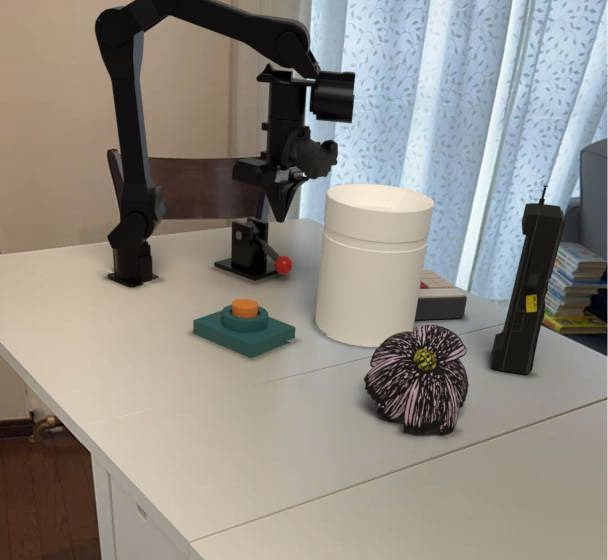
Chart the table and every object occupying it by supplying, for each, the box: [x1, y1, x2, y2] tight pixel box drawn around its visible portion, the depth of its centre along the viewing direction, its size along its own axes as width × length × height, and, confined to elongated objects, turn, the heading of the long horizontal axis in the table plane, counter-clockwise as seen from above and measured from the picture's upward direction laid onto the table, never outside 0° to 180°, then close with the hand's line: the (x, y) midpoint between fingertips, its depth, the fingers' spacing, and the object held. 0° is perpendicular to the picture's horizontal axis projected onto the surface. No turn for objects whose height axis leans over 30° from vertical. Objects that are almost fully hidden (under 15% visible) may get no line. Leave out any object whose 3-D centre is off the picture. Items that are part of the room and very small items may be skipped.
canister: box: [314, 183, 435, 348], centre depth 124 cm, size 16×16×20 cm
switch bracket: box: [213, 216, 279, 282], centre depth 145 cm, size 10×8×9 cm
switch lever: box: [243, 221, 294, 276], centre depth 142 cm, size 12×3×3 cm, turn 51°
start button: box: [231, 298, 260, 318], centre depth 120 cm, size 4×4×2 cm
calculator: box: [415, 269, 468, 321], centre depth 139 cm, size 11×4×15 cm
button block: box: [192, 304, 296, 359], centre depth 122 cm, size 12×10×4 cm
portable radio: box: [490, 184, 566, 376], centre depth 114 cm, size 8×6×25 cm
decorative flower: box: [363, 324, 470, 436], centre depth 104 cm, size 15×12×15 cm
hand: (280, 222), depth 132 cm, fingers closed
